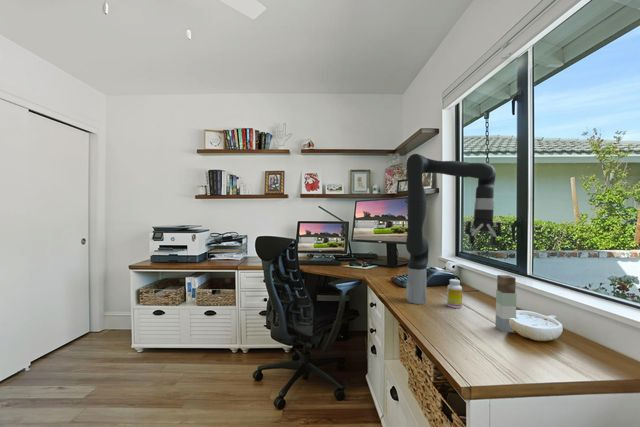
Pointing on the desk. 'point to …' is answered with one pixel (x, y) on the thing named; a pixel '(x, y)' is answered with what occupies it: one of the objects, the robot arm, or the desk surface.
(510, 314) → the tower mid
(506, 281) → the walnut block
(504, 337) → the desk surface
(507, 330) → the tower base
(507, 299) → the tower top
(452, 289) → the supplement bottle
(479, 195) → the robot arm
